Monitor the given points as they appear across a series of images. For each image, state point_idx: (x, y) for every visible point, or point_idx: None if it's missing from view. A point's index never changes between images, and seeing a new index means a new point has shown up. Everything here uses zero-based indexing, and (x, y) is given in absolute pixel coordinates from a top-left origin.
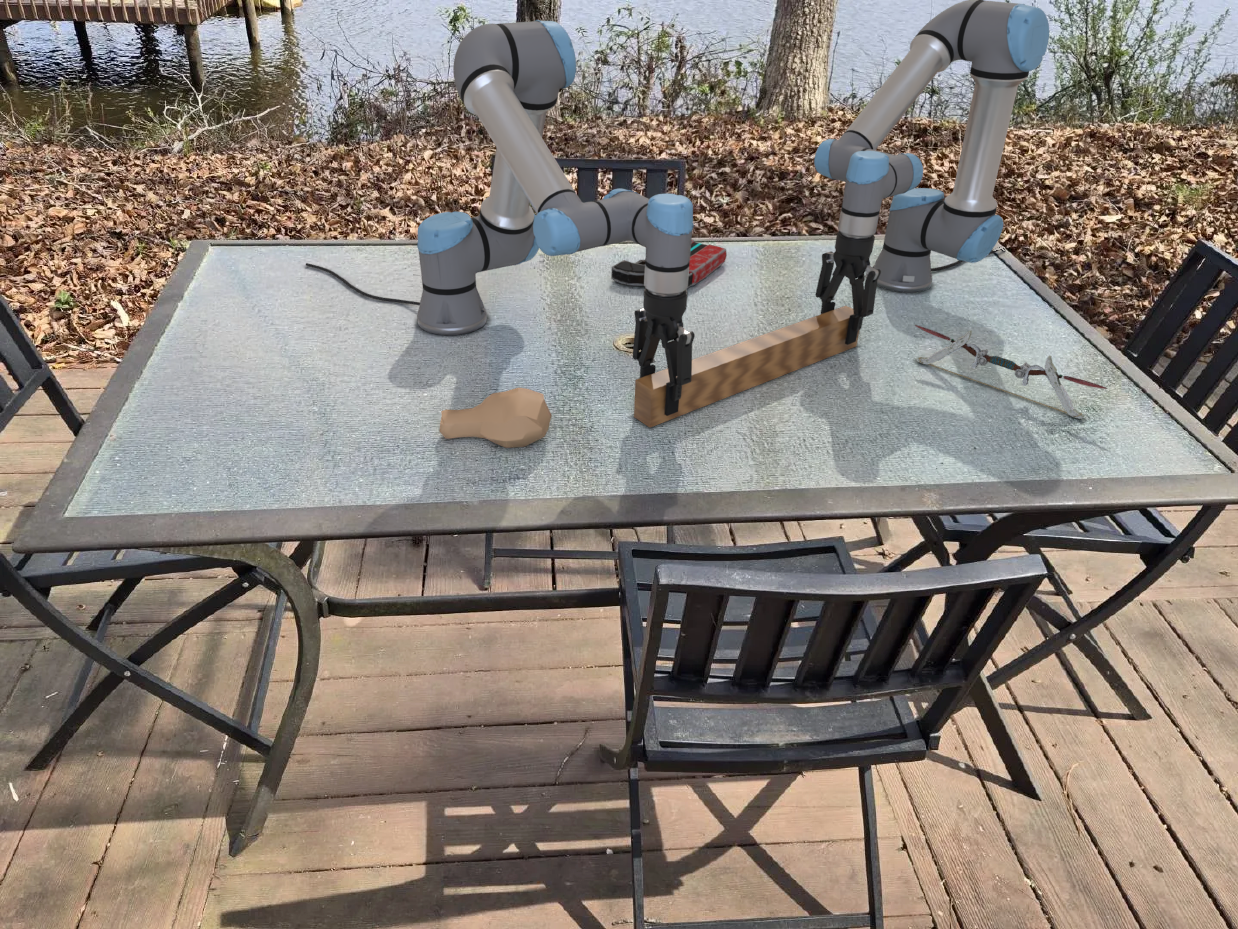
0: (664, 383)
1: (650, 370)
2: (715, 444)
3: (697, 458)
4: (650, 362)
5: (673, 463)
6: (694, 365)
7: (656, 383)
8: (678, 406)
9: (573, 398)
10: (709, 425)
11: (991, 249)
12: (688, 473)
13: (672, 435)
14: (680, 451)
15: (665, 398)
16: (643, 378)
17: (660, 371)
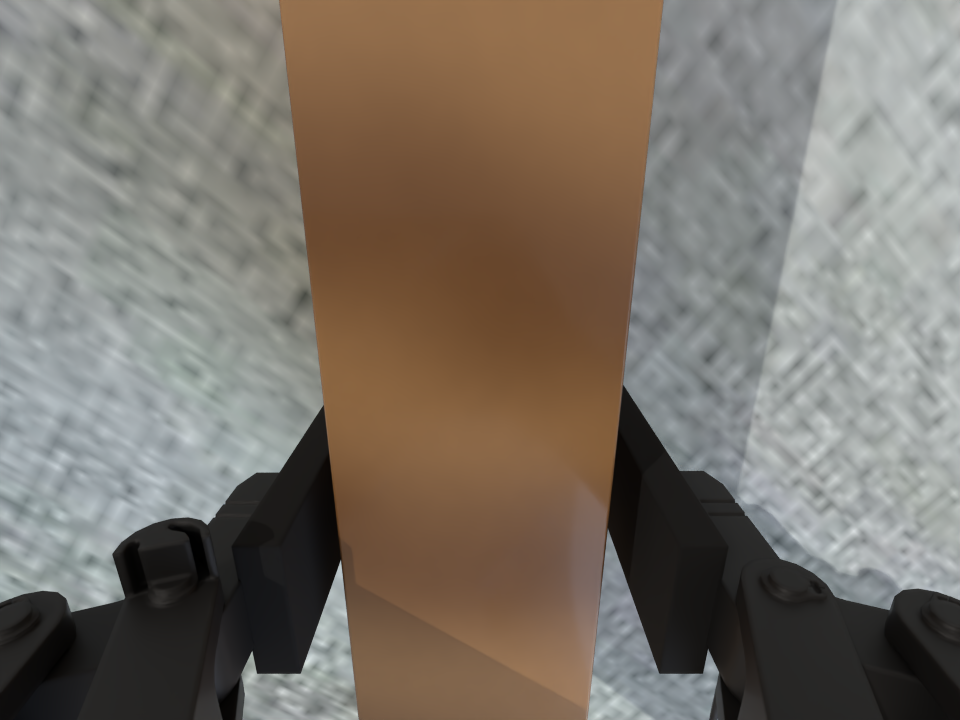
0: (573, 594)
1: (300, 577)
2: (910, 330)
3: (905, 487)
4: (224, 613)
5: (838, 587)
6: (444, 3)
7: (522, 639)
8: (632, 400)
9: (90, 602)
10: (756, 209)
11: None
12: (939, 586)
13: (672, 450)
14: (801, 509)
15: (615, 548)
16: (379, 668)
17: (344, 478)
